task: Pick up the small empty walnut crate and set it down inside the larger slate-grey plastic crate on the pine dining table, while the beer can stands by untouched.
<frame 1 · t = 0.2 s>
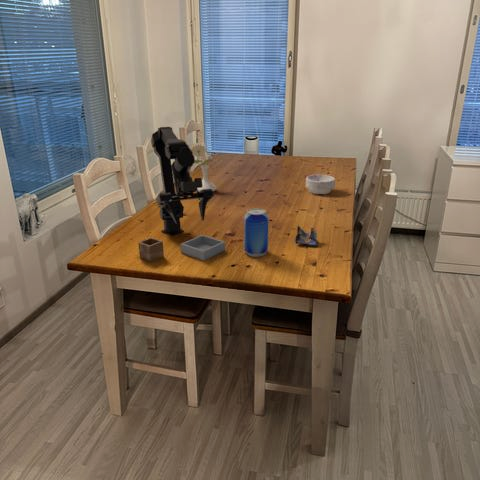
hand: (190, 221, 146), 15 cm above the table, tool tilted 30°, fingers open, 9 cm apart
paper bowls: (319, 192, 231), on the table
grey crate: (203, 251, 160), on the table
walnut crate: (151, 257, 155), on the table
beer can: (256, 253, 158), on the table
flower in vase: (204, 191, 234), on the table
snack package: (307, 242, 168), on the table
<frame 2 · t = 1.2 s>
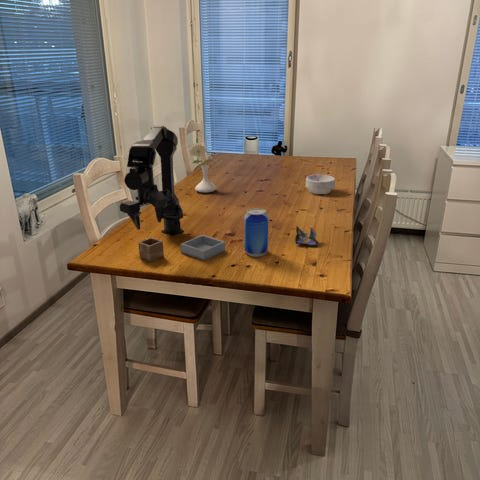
hand: (149, 225, 151), 12 cm above the table, tool pointing down, fingers open, 9 cm apart
nothing on the table moved.
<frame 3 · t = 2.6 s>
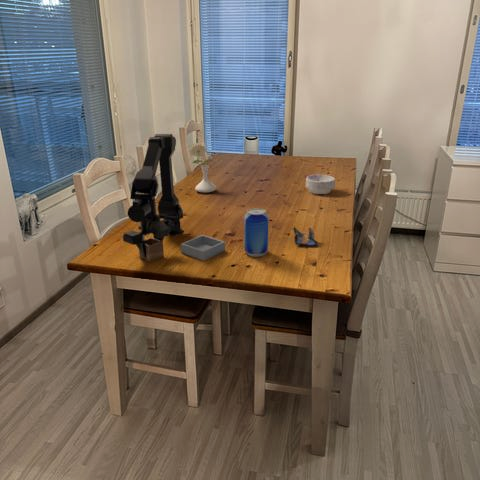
hand: (151, 253, 155), 1 cm above the table, tool pointing down, fingers closed on walnut crate, 6 cm apart
walnut crate: (151, 257, 155), on the table, touching gripper
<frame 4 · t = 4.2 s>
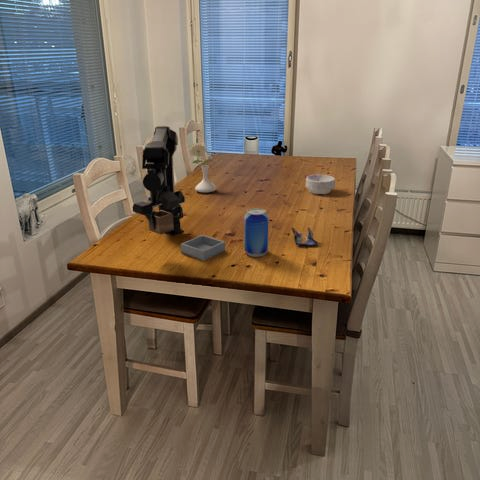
hand: (161, 226, 152), 11 cm above the table, tool pointing down, fingers closed on walnut crate, 6 cm apart
walnut crate: (161, 230, 152), point 10 cm above the table, touching gripper
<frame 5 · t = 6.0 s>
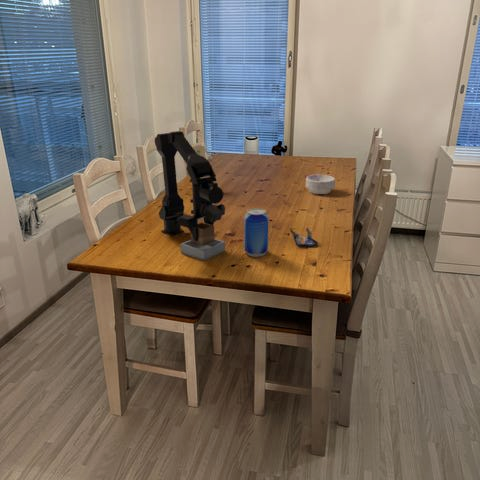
hand: (202, 238, 158), 5 cm above the table, tool pointing down, fingers closed on walnut crate, 6 cm apart
walnut crate: (202, 241, 158), point 4 cm above the table, touching gripper
when the fingers open (4 cm above the table, at t = 6.8 s): walnut crate drops 2 cm, resting on grey crate.
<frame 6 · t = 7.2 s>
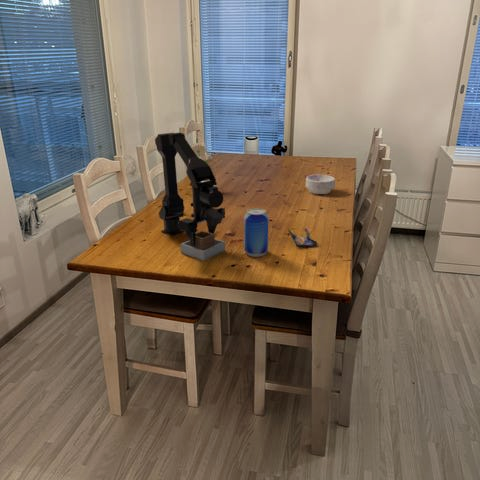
hand: (202, 241, 158), 4 cm above the table, tool pointing down, fingers open, 9 cm apart
grey crate: (203, 251, 160), on the table, touching walnut crate
walnut crate: (203, 249, 159), point 1 cm above the table, touching grey crate
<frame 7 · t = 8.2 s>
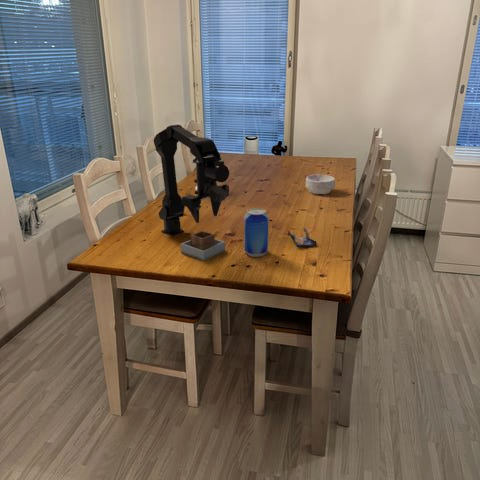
hand: (206, 219, 156), 12 cm above the table, tool pointing down, fingers open, 9 cm apart
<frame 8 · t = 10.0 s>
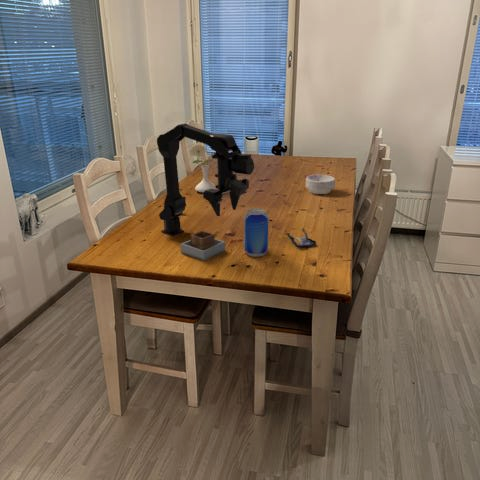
hand: (226, 212, 161), 12 cm above the table, tool pointing down, fingers open, 9 cm apart
at the end: walnut crate 0.0 cm off-centre on the grey crate, point 0.7 cm above the grey crate's base; walnut crate tilted 0°; the gripper is holding nothing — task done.
